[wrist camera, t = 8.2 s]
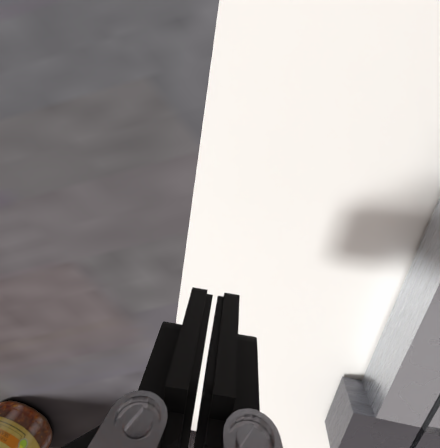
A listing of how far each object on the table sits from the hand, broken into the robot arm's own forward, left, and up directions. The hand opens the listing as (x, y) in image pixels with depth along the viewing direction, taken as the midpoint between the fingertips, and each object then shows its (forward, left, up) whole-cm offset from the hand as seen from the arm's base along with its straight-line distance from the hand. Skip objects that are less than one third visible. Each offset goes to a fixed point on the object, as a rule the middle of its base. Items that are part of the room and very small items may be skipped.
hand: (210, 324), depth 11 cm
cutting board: (+1, +8, -8) cm, 12 cm away
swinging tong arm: (+2, +10, -7) cm, 12 cm away
